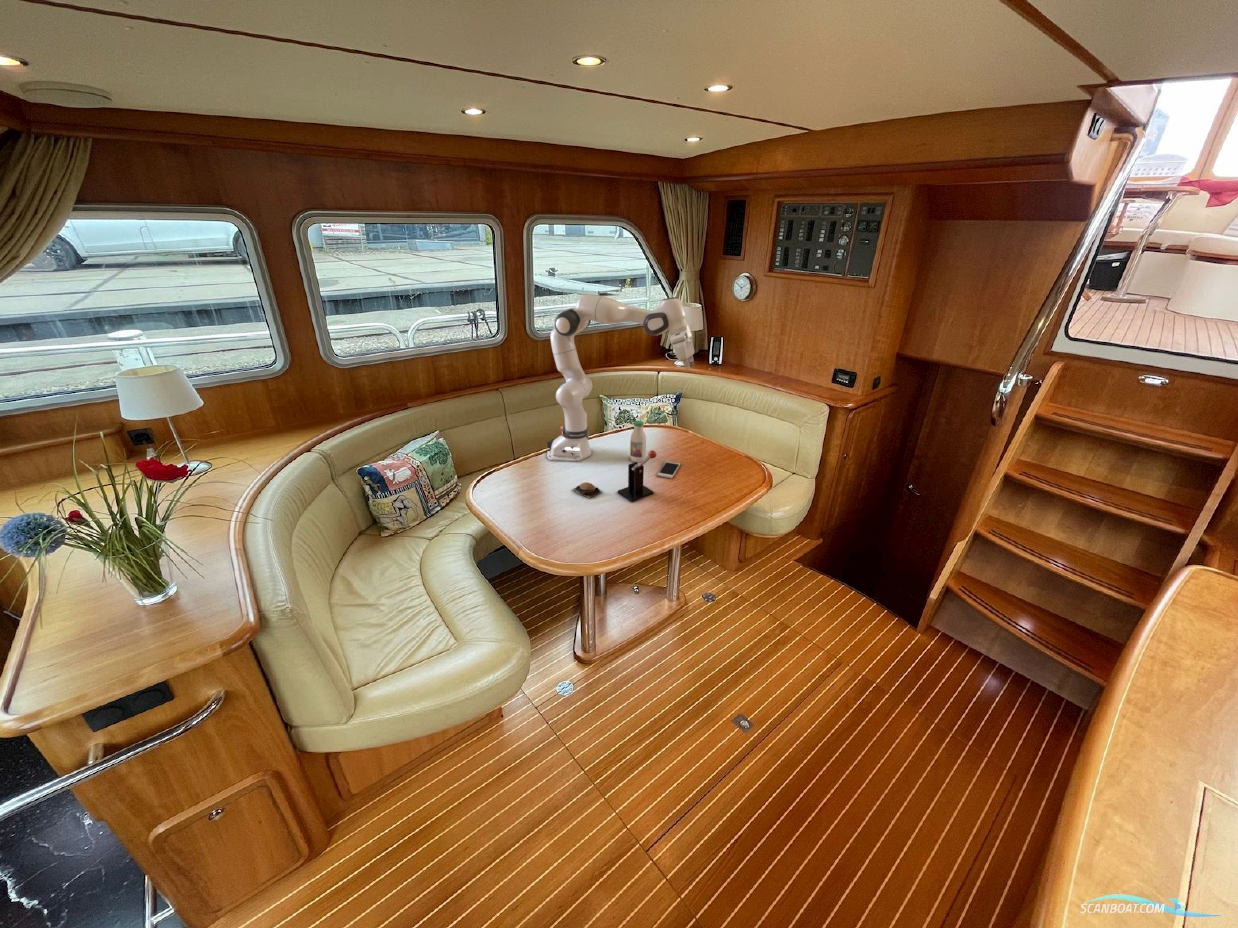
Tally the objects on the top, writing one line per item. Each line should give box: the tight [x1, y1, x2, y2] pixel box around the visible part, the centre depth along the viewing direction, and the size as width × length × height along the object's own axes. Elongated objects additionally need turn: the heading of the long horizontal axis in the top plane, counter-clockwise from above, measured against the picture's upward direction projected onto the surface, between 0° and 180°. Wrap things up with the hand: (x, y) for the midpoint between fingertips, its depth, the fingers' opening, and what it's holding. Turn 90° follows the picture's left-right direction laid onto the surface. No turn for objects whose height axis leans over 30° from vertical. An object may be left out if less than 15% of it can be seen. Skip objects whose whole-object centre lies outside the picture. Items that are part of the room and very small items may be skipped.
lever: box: [631, 449, 657, 472], centre depth 206 cm, size 13×4×4 cm, turn 125°
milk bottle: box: [629, 420, 647, 463], centre depth 236 cm, size 8×8×20 cm
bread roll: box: [572, 482, 602, 499], centre depth 210 cm, size 11×8×4 cm
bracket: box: [617, 461, 654, 503], centre depth 206 cm, size 12×10×14 cm
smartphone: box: [657, 461, 681, 479], centre depth 229 cm, size 7×15×1 cm, turn 159°
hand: (690, 367), depth 204 cm, fingers open, 8 cm apart
